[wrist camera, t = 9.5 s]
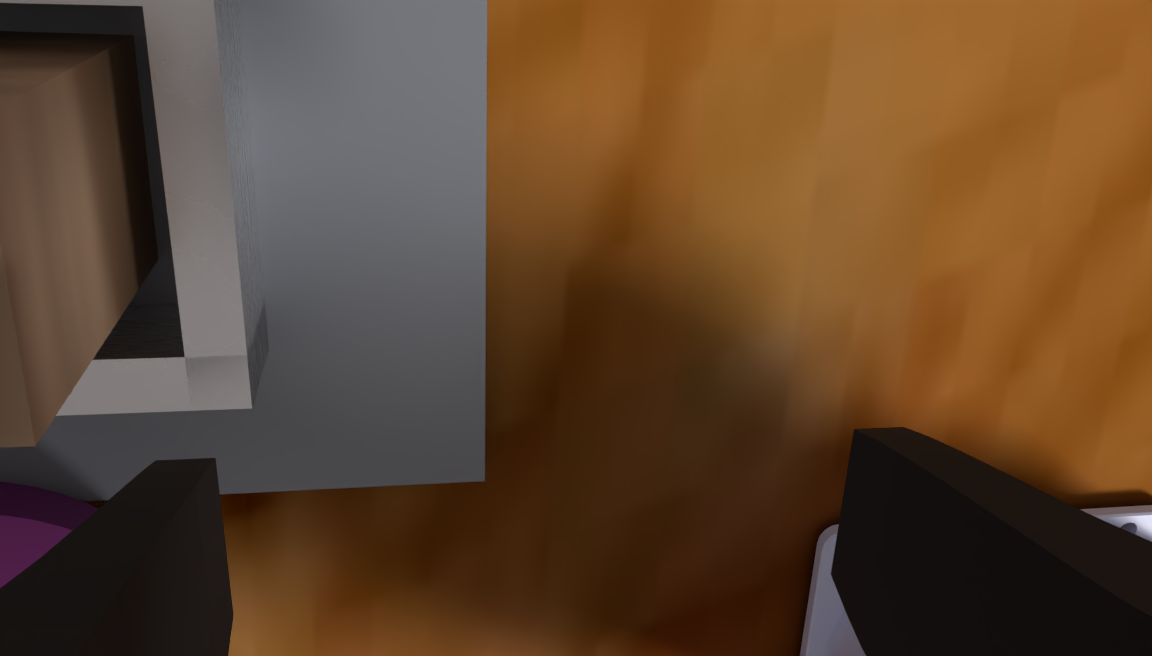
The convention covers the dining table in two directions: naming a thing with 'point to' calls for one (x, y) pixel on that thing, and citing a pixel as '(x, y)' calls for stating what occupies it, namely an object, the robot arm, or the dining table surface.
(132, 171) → the walnut peg
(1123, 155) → the dining table surface
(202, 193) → the socket board
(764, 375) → the dining table surface
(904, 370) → the dining table surface
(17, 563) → the mounting bracket
